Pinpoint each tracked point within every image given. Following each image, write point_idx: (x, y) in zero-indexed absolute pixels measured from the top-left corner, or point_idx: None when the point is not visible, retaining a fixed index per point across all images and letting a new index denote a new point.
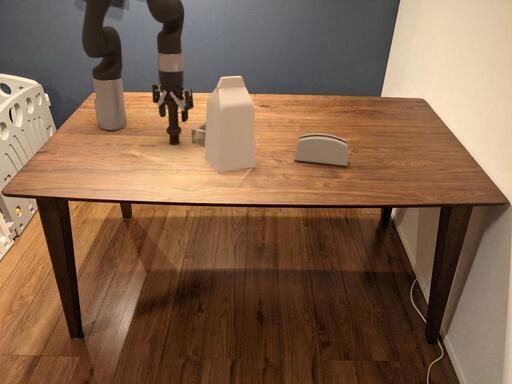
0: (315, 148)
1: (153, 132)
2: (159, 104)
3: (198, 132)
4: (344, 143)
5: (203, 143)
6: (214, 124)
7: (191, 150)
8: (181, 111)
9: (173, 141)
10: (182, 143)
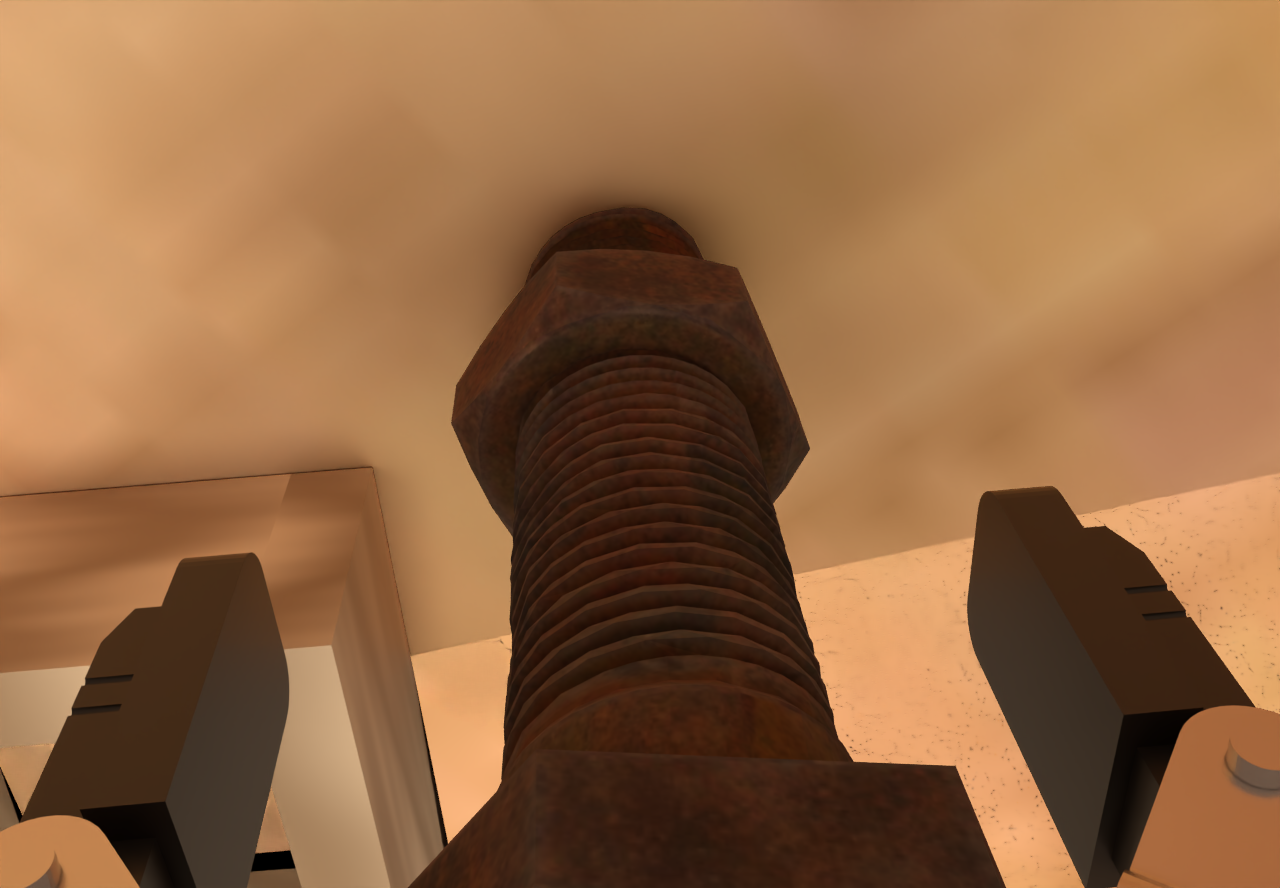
0: None
1: (1257, 422)
2: (1223, 758)
3: None
4: None
5: (106, 518)
6: None
7: (114, 219)
8: (147, 790)
9: (577, 243)
10: None
